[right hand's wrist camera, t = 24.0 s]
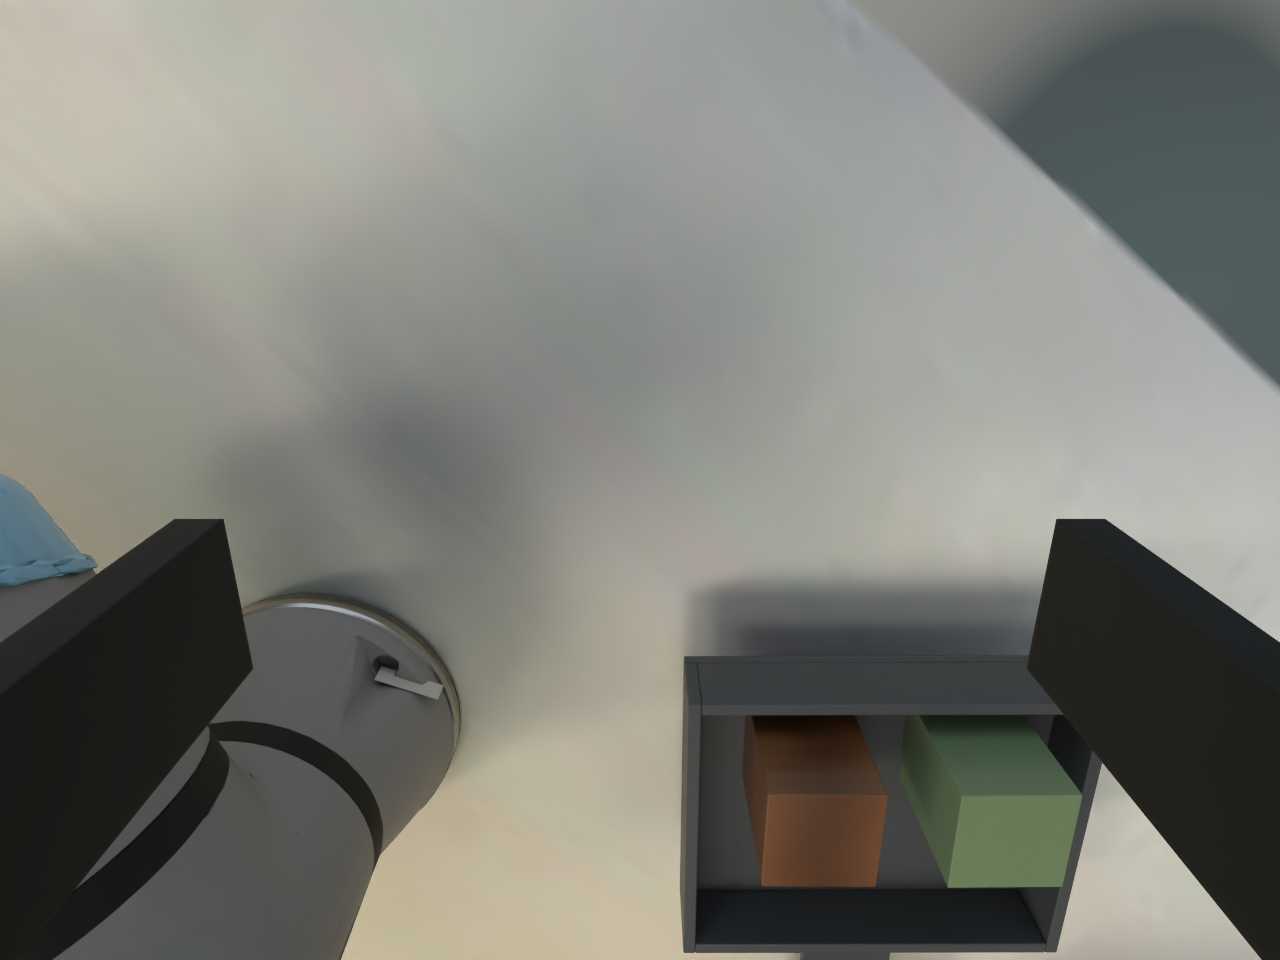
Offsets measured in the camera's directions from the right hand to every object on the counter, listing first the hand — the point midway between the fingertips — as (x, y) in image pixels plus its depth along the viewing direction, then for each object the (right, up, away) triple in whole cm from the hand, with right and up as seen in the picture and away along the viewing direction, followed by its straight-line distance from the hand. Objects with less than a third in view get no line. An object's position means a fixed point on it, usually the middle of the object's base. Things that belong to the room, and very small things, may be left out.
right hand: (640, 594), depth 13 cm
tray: (+12, -23, +32) cm, 41 cm away
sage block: (+16, -11, +27) cm, 33 cm away
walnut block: (+8, -11, +27) cm, 30 cm away
